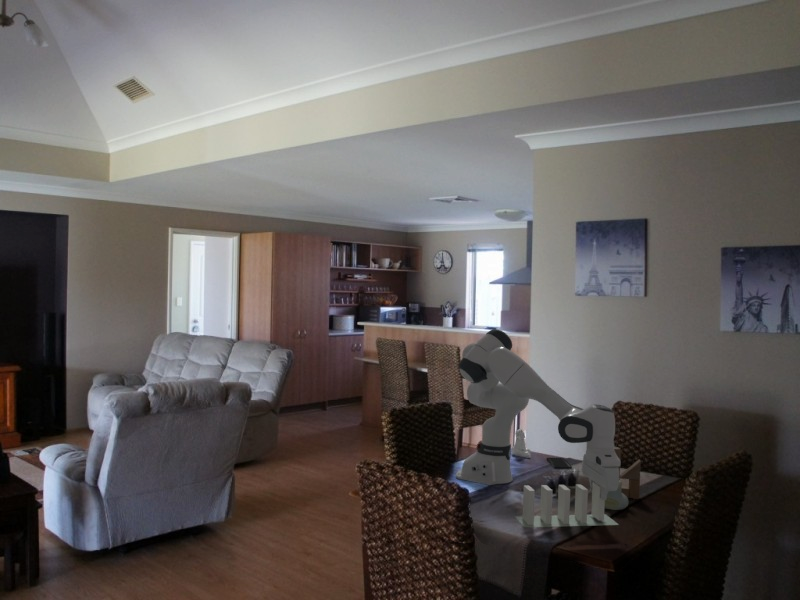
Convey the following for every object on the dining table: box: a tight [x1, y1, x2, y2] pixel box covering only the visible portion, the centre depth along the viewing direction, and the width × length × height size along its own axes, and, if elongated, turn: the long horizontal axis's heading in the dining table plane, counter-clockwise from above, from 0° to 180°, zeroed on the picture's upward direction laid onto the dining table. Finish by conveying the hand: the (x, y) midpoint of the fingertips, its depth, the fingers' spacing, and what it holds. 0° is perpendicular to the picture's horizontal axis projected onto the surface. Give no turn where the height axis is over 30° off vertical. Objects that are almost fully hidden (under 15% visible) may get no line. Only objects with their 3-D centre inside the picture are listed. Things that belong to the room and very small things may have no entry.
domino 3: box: [556, 484, 571, 524], centre depth 223 cm, size 2×6×11 cm, turn 9°
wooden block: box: [614, 446, 642, 500], centre depth 253 cm, size 4×11×18 cm, turn 77°
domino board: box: [514, 513, 620, 529], centre depth 224 cm, size 32×10×1 cm, turn 98°
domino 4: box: [574, 484, 589, 523], centre depth 224 cm, size 2×6×11 cm, turn 8°
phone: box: [546, 457, 573, 470], centre depth 297 cm, size 8×1×15 cm
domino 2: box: [539, 484, 554, 524], centre depth 222 cm, size 2×6×11 cm, turn 9°
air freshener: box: [604, 480, 629, 511], centre depth 240 cm, size 11×8×10 cm
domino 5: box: [591, 482, 605, 520], centre depth 225 cm, size 2×6×11 cm, turn 8°
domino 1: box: [522, 484, 536, 525], centre depth 221 cm, size 2×6×11 cm, turn 9°
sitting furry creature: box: [511, 428, 532, 459], centre depth 310 cm, size 10×9×12 cm
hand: (598, 496), depth 225 cm, fingers closed on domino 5, 5 cm apart
